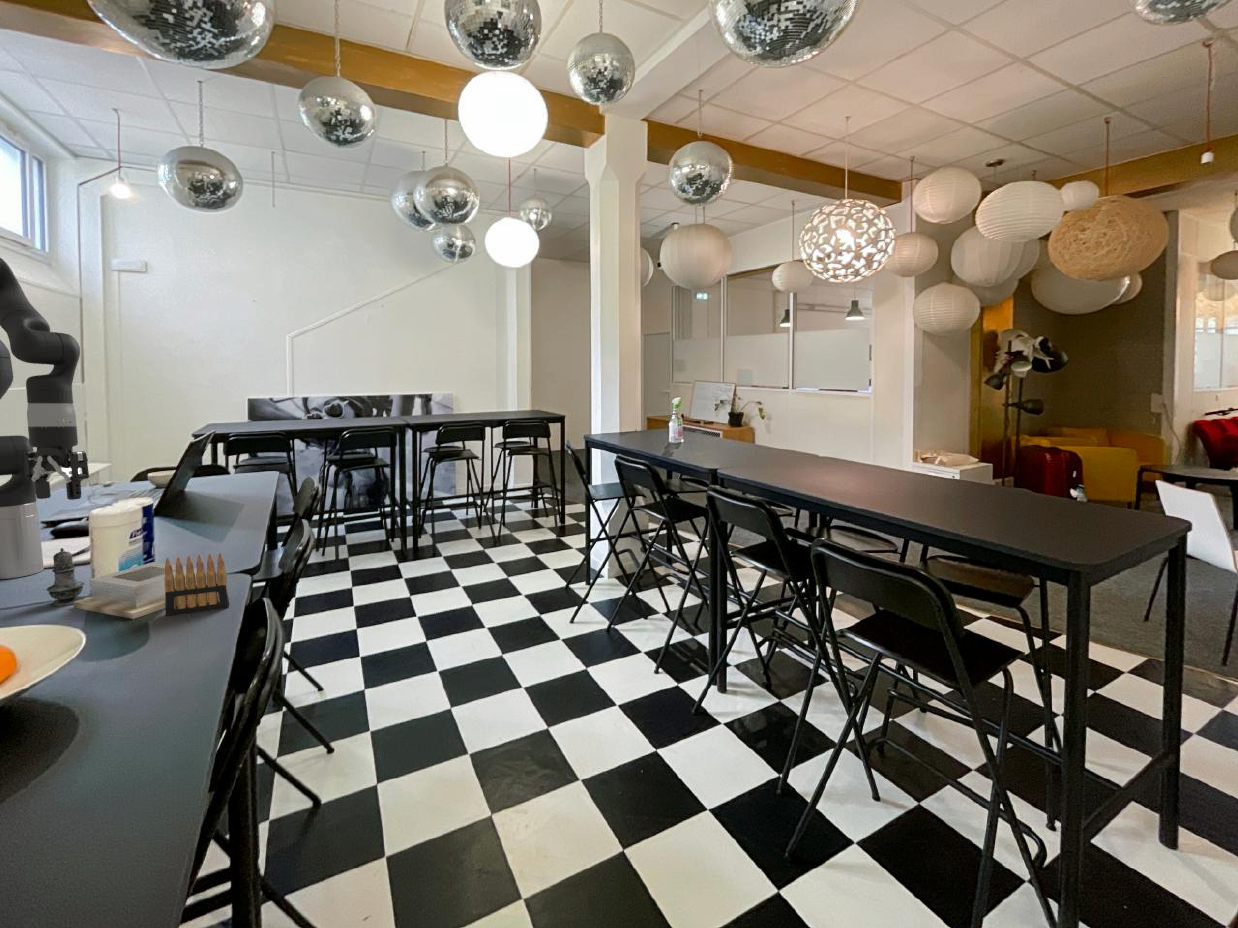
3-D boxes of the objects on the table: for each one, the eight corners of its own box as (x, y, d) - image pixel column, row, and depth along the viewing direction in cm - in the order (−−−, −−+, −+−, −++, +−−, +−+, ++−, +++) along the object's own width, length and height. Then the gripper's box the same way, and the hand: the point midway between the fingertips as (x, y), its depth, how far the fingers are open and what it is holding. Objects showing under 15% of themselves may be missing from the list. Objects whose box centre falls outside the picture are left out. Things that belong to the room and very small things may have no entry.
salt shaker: (92, 599, 124) (87, 546, 122) (58, 609, 118) (52, 553, 117) (75, 595, 126) (70, 542, 124) (41, 604, 120) (35, 549, 119)
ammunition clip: (165, 616, 117) (160, 559, 115) (167, 613, 118) (162, 557, 117) (228, 608, 122) (225, 553, 120) (229, 605, 124) (226, 551, 122)
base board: (73, 607, 119) (73, 602, 119) (158, 581, 136) (158, 576, 136) (133, 619, 115) (133, 613, 115) (213, 590, 131) (213, 585, 131)
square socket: (91, 600, 121) (89, 579, 120) (155, 580, 133) (154, 561, 132) (136, 608, 117) (134, 587, 117) (198, 587, 130) (197, 568, 129)
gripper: (97, 424, 126) (103, 497, 127) (47, 424, 129) (53, 495, 130) (58, 424, 119) (65, 502, 120) (5, 425, 122) (12, 500, 123)
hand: (58, 498), depth 125 cm, fingers open, 8 cm apart
